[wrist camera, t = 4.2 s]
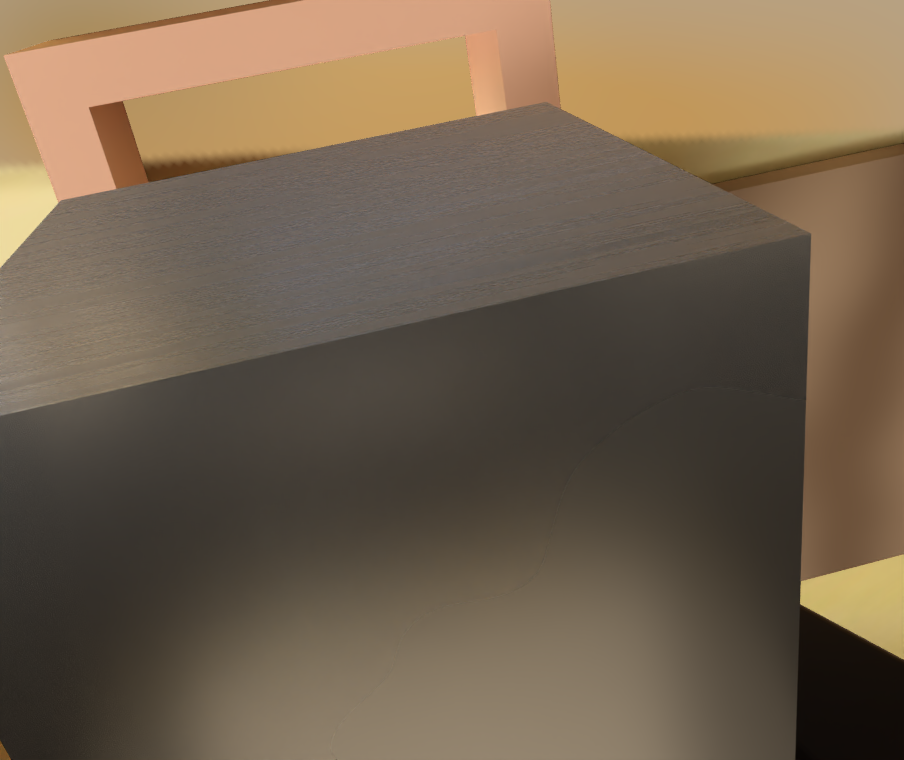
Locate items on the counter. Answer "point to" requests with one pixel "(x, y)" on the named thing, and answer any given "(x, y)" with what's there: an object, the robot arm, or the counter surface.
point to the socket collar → (255, 67)
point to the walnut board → (849, 350)
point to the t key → (406, 459)
